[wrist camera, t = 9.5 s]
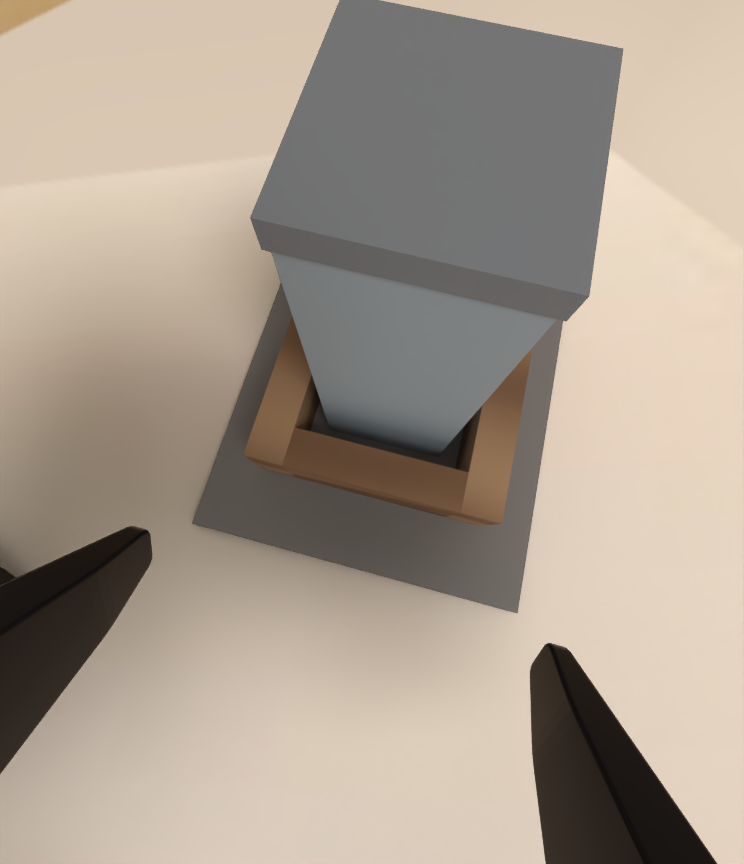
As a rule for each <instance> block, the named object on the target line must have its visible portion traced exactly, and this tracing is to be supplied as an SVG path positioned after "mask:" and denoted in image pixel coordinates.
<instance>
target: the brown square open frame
mask: <svg viewBox="0 0 744 864" xmlns="http://www.w3.org/2000/svg"><path fill="white" fill-rule="evenodd" d="M532 349H533V347H532ZM532 349H531V350H530V351H529V352H528V353H527V354H526V355H525V357H524V358H523V359H522V360H521V361H520V362H519V363H518V365H517V366H516V367H515V368H514V369H513V370H512V372H511V373H510V374H509V375H508V376H507V377H506V378H505V380H504V381H503V382H502V383H501V384H500V385H499V387H498V388H497V389H496V390H495V391H494V392H493V393H492V395H491V396H490V397H489V398H488V399H487V400H486V402H485V403H484V404H483V405H482V406H481V407H480V408H479V410H478V411H477V412H476V413H475V414H474V415H473V417H472V418H471V419H470V420H469V421H468V422H467V423H466V425H465V426H464V430H463V434H462V439H461V444H460V448H459V453H458V458H457V463H456V467H455V469H453V468H450V467H446V466H442V465H438V464H434V463H430V462H426V461H423V460H419V459H415V458H411V457H407V456H403V455H399V454H396V453H392V452H388V451H384V450H380V449H376V448H372V447H369V446H365V445H361V444H357V443H353V442H349V441H345V440H342V439H338V438H334V437H330V436H326V435H322V434H319V433H315V432H311V431H310V430H311V427H312V424H313V421H314V418H315V414H316V411H317V408H318V405H319V402H320V398H319V395H318V392H317V389H316V386H315V383H314V380H313V377H312V374H311V371H310V368H309V365H308V362H307V359H306V356H305V353H304V350H303V346H302V343H301V340H300V337H299V334H298V331H297V328H296V325H295V322H294V319H293V316H292V318H291V321H290V323H289V326H288V329H287V332H286V335H285V338H284V340H283V343H282V346H281V349H280V352H279V355H278V357H277V360H276V363H275V366H274V369H273V372H272V374H271V377H270V380H269V383H268V386H267V389H266V391H265V394H264V397H263V400H262V403H261V406H260V408H259V411H258V414H257V417H256V420H255V423H254V425H253V428H252V431H251V434H250V437H249V440H248V442H247V445H246V448H245V451H244V454H243V455H244V456H245V457H247V458H248V459H250V460H251V461H253V462H254V463H256V464H257V465H258V466H260V467H261V468H263V469H266V470H270V471H274V472H277V473H281V474H285V475H289V476H292V477H296V478H300V479H304V480H307V481H311V482H315V483H319V484H322V485H326V486H330V487H334V488H337V489H341V490H345V491H349V492H352V493H356V494H360V495H364V496H367V497H371V498H375V499H379V500H383V501H386V502H390V503H394V504H398V505H401V506H405V507H409V508H413V509H416V510H420V511H424V512H428V513H431V514H435V515H439V516H443V517H446V518H450V519H454V520H458V521H461V522H465V523H469V524H473V525H476V526H486V525H495V524H502V521H503V515H504V510H505V504H506V498H507V493H508V487H509V481H510V475H511V470H512V464H513V458H514V452H515V447H516V441H517V435H518V429H519V424H520V418H521V412H522V407H523V401H524V395H525V389H526V384H527V378H528V372H529V366H530V361H531V355H532Z"/></svg>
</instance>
